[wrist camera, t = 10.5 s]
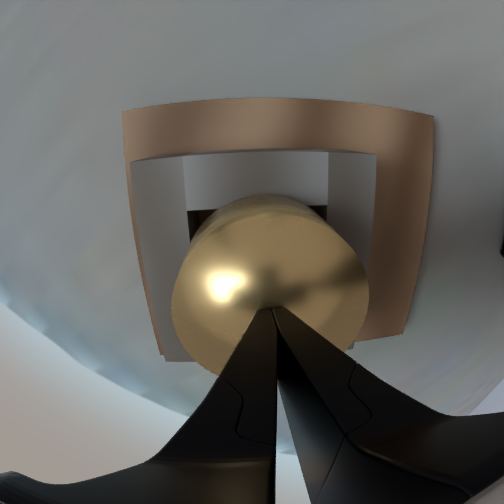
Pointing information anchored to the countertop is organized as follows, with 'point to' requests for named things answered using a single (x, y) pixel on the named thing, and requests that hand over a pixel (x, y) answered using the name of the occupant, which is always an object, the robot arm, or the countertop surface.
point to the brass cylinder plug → (265, 277)
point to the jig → (281, 188)
